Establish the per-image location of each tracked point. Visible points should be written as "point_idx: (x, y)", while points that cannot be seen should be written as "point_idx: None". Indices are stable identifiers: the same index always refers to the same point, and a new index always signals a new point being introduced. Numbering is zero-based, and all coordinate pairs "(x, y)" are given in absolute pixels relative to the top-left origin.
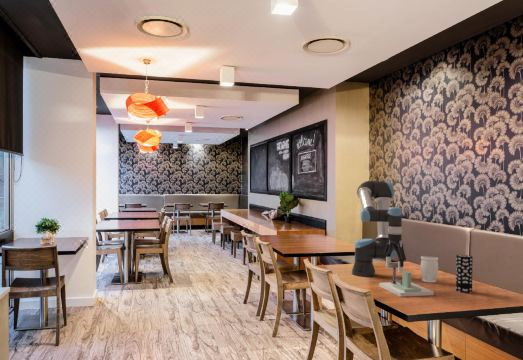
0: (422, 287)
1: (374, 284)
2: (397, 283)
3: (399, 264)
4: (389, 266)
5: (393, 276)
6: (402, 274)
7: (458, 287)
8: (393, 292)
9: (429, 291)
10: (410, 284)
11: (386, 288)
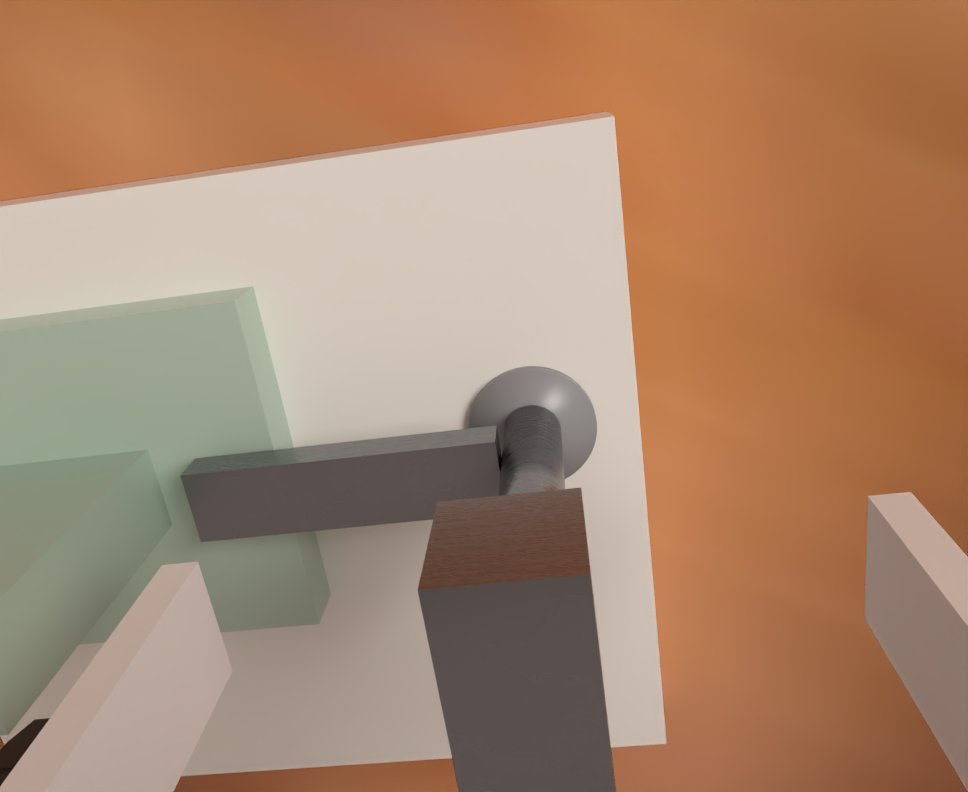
0: (254, 752)
1: (780, 63)
2: None
3: (43, 753)
4: (523, 506)
5: (512, 472)
6: (18, 577)
7: None
8: (44, 196)
9: (9, 736)
10: None
11: (295, 159)
